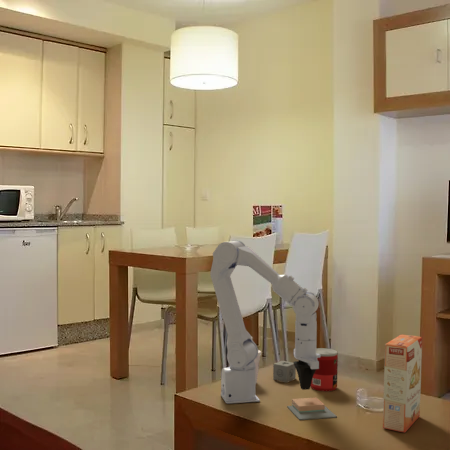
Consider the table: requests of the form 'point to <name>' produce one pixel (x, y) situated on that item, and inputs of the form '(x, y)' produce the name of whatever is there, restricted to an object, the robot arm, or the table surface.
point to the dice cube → (284, 371)
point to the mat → (312, 414)
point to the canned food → (326, 370)
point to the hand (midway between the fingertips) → (305, 388)
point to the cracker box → (402, 382)
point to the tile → (308, 405)
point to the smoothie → (257, 363)
